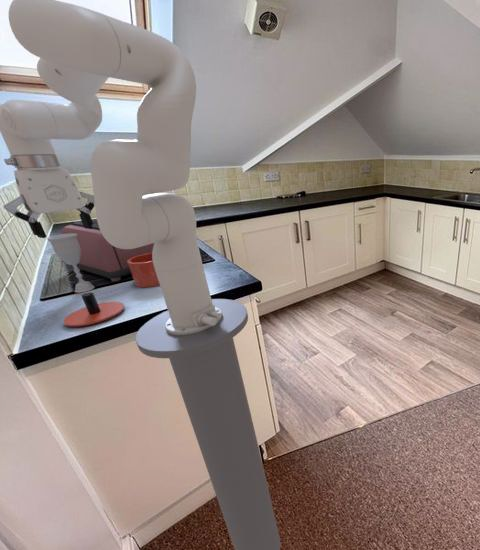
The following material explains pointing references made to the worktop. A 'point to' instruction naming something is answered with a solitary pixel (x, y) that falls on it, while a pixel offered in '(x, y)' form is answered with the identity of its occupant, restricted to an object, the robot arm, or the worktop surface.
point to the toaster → (102, 252)
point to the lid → (93, 311)
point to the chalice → (70, 256)
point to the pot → (143, 270)
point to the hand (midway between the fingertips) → (66, 232)
